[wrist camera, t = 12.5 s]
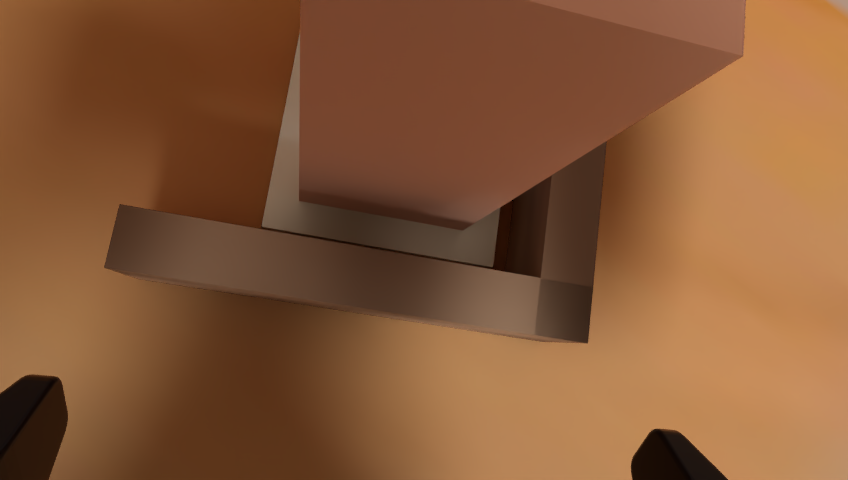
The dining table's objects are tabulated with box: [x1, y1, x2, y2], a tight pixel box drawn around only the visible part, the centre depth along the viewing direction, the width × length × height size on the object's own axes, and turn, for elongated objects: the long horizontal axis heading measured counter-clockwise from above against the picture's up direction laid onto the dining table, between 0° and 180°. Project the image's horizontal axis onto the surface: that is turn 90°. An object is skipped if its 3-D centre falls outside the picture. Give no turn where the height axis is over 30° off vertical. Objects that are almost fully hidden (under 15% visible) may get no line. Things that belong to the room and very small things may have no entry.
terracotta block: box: [299, 0, 746, 230], centre depth 13 cm, size 5×5×12 cm
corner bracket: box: [104, 34, 607, 343], centre depth 17 cm, size 12×12×3 cm
